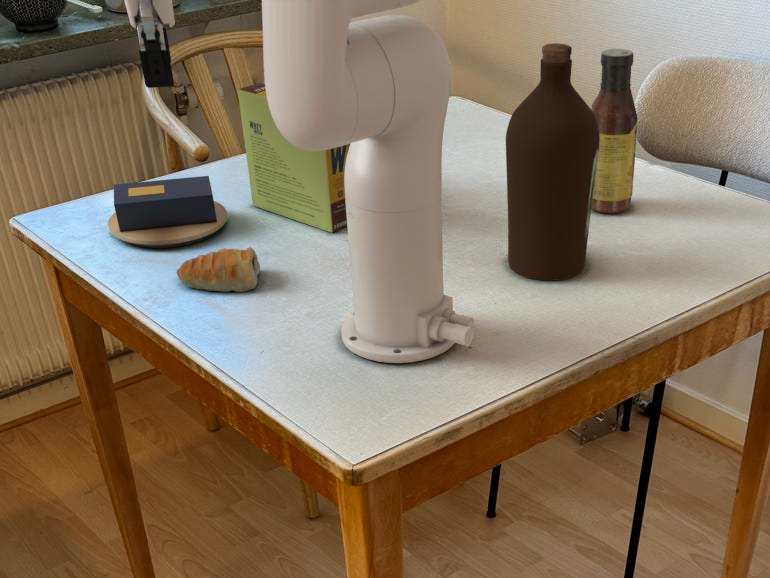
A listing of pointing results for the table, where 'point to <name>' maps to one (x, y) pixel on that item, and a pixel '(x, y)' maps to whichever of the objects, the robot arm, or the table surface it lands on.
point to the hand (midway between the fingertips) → (159, 74)
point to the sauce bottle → (615, 133)
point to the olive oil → (551, 174)
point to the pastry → (222, 270)
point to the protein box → (291, 169)
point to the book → (165, 211)
